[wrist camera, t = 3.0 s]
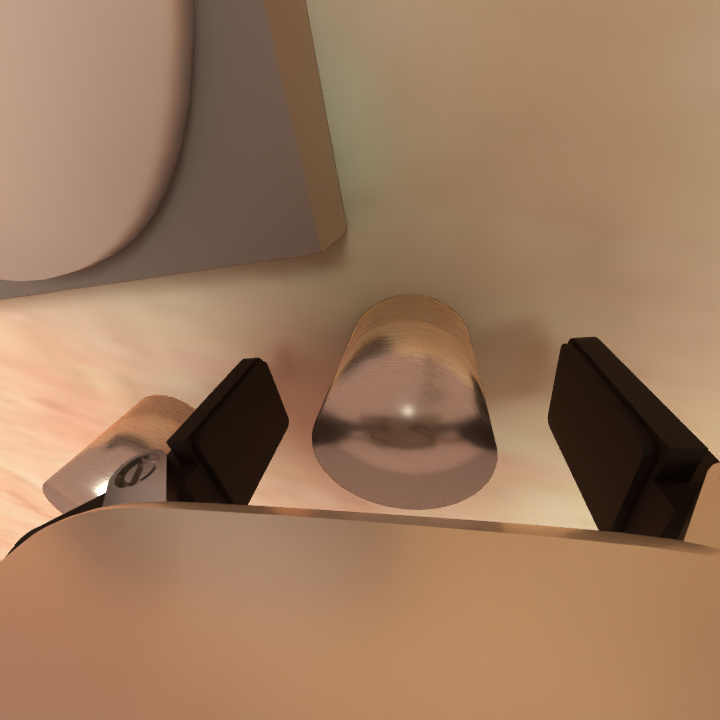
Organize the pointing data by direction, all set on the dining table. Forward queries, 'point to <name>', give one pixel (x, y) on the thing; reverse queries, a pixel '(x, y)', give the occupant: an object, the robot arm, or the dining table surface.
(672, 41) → the dining table surface
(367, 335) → the cylinder
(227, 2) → the scale
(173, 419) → the cylinder
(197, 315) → the dining table surface
